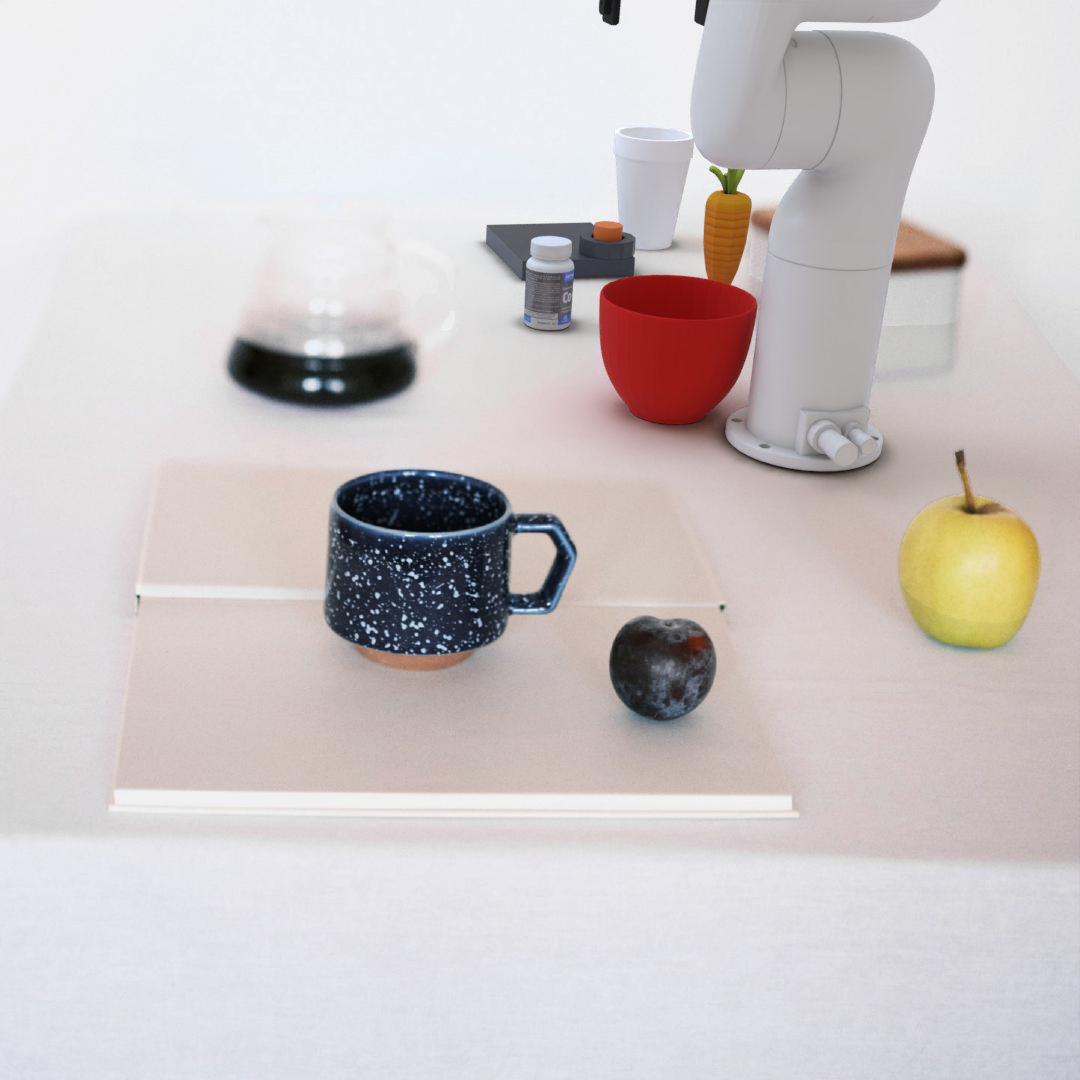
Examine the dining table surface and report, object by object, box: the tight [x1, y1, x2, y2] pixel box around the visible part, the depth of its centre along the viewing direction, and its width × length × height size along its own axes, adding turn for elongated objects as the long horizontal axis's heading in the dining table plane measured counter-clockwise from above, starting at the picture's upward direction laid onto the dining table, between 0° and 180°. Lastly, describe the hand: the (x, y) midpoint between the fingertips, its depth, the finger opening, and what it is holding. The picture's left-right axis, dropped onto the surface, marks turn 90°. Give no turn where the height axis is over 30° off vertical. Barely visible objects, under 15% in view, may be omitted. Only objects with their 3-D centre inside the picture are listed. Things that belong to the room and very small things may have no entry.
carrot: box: [702, 165, 753, 285], centre depth 144 cm, size 5×5×15 cm
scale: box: [485, 221, 636, 282], centre depth 158 cm, size 16×14×4 cm
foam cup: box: [612, 125, 695, 251], centre depth 164 cm, size 10×9×13 cm
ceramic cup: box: [598, 274, 758, 425], centre depth 117 cm, size 13×17×10 cm
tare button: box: [593, 220, 623, 241], centre depth 153 cm, size 3×3×2 cm
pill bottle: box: [523, 236, 575, 331], centre depth 135 cm, size 5×5×8 cm
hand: (657, 24), depth 134 cm, fingers open, 9 cm apart
